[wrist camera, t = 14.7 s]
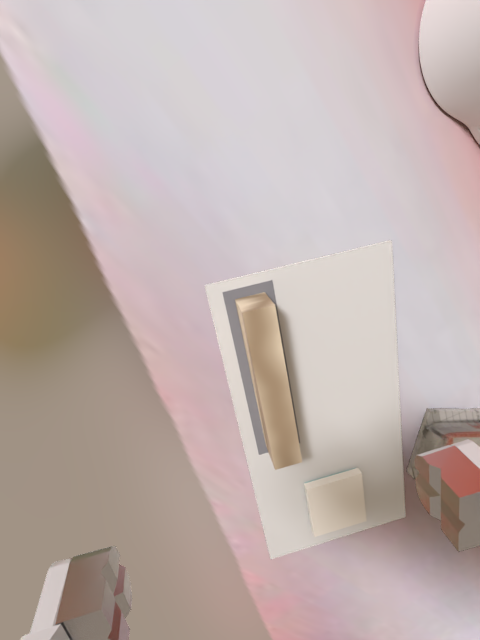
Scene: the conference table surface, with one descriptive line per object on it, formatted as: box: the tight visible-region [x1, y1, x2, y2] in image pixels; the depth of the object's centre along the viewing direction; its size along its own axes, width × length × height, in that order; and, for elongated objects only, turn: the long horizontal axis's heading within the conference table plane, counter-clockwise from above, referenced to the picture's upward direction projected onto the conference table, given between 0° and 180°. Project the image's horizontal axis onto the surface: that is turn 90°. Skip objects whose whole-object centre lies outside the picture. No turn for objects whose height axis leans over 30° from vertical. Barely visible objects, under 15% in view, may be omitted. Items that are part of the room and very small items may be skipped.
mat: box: [204, 240, 406, 559], centre depth 46 cm, size 19×38×1 cm, turn 12°
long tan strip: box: [235, 292, 302, 470], centre depth 40 cm, size 3×18×4 cm, turn 12°
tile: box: [304, 468, 367, 537], centre depth 50 cm, size 7×1×8 cm
